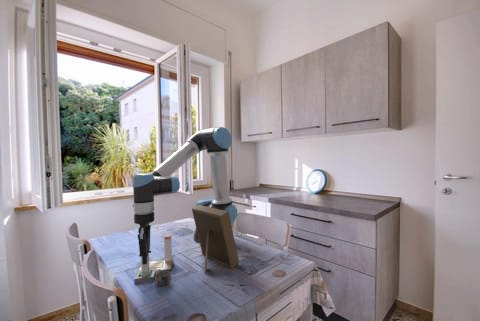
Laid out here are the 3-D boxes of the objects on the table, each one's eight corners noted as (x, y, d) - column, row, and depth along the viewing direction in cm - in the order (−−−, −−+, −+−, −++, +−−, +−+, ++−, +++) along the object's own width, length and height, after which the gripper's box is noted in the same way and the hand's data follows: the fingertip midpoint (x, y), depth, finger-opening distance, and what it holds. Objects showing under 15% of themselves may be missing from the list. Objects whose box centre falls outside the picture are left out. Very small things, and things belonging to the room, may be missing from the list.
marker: (172, 259, 105) (171, 234, 104) (171, 262, 102) (170, 236, 102) (165, 260, 104) (165, 234, 104) (165, 263, 101) (164, 236, 101)
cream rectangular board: (173, 260, 106) (173, 258, 106) (171, 270, 96) (171, 268, 96) (141, 263, 103) (141, 262, 103) (136, 274, 93) (136, 272, 93)
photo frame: (209, 251, 115) (208, 203, 115) (239, 265, 99) (237, 209, 99) (183, 261, 104) (182, 208, 104) (212, 278, 89) (211, 215, 89)
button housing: (156, 272, 94) (156, 268, 94) (153, 281, 87) (153, 276, 87) (138, 275, 93) (138, 270, 93) (134, 284, 86) (134, 279, 86)
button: (152, 274, 92) (151, 268, 92) (150, 279, 88) (150, 273, 88) (141, 275, 92) (141, 269, 92) (139, 281, 88) (139, 274, 88)
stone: (154, 278, 92) (143, 273, 86) (163, 266, 94) (153, 259, 88) (170, 292, 86) (159, 287, 81) (179, 278, 89) (169, 273, 83)
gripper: (138, 209, 95) (139, 264, 96) (129, 217, 83) (131, 280, 83) (156, 208, 97) (157, 262, 97) (151, 215, 84) (152, 278, 84)
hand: (145, 270), depth 90 cm, fingers closed
